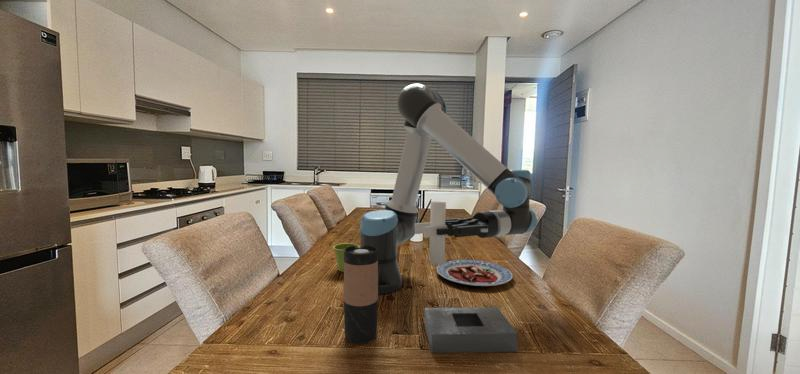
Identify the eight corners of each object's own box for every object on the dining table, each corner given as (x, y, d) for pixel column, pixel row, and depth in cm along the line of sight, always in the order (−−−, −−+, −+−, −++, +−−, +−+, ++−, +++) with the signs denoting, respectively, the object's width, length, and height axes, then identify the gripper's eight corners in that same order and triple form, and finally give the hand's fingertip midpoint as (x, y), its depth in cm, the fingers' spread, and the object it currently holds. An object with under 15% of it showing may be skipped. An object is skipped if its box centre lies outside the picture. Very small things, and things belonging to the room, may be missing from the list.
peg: (426, 262, 83) (428, 202, 82) (432, 259, 87) (434, 201, 86) (441, 265, 81) (442, 203, 80) (446, 261, 85) (448, 202, 84)
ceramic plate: (455, 295, 95) (456, 285, 95) (426, 267, 120) (426, 260, 119) (529, 287, 102) (529, 278, 102) (486, 263, 127) (486, 255, 126)
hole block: (431, 352, 66) (431, 334, 65) (424, 323, 78) (424, 307, 77) (516, 351, 66) (517, 333, 66) (496, 322, 78) (497, 307, 78)
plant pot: (349, 263, 122) (349, 241, 122) (364, 269, 116) (364, 246, 115) (328, 269, 116) (328, 246, 115) (343, 276, 109) (343, 251, 108)
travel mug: (363, 349, 67) (363, 256, 65) (336, 338, 71) (336, 250, 69) (384, 332, 73) (385, 248, 72) (358, 323, 77) (358, 243, 76)
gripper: (512, 243, 84) (437, 253, 74) (471, 230, 99) (404, 237, 89) (513, 215, 83) (438, 221, 73) (472, 207, 99) (405, 211, 88)
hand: (419, 230), depth 81 cm, fingers closed on peg, 4 cm apart
